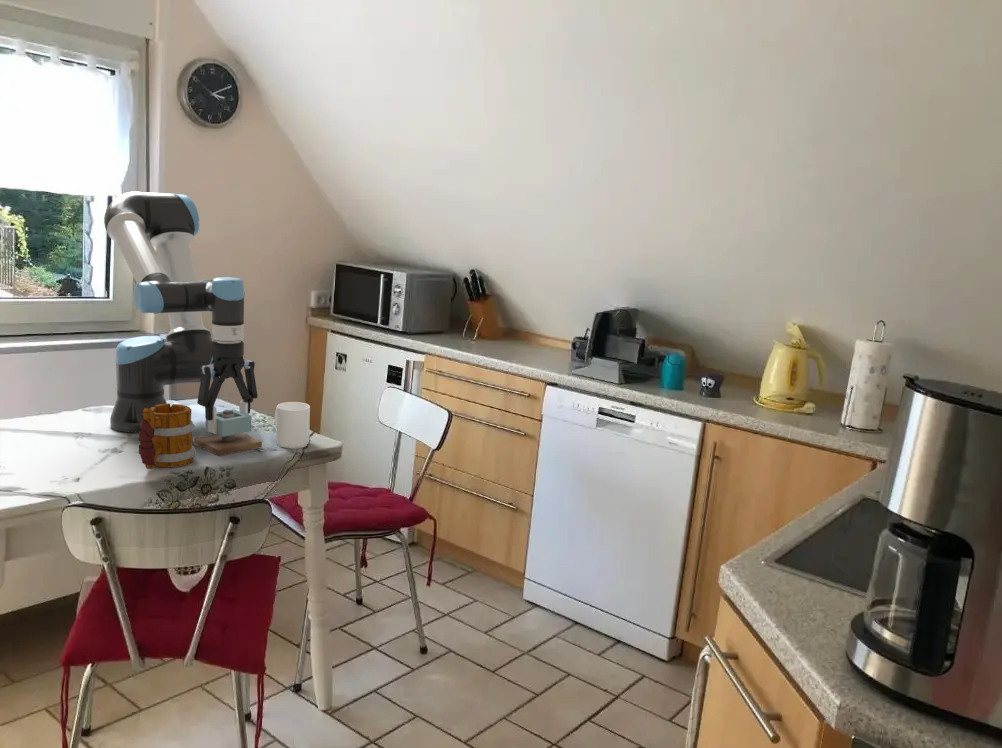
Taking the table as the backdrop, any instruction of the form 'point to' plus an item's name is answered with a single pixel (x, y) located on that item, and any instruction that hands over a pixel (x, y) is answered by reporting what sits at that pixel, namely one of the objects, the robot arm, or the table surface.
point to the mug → (166, 436)
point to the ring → (232, 424)
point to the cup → (292, 424)
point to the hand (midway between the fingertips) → (228, 429)
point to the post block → (227, 441)
